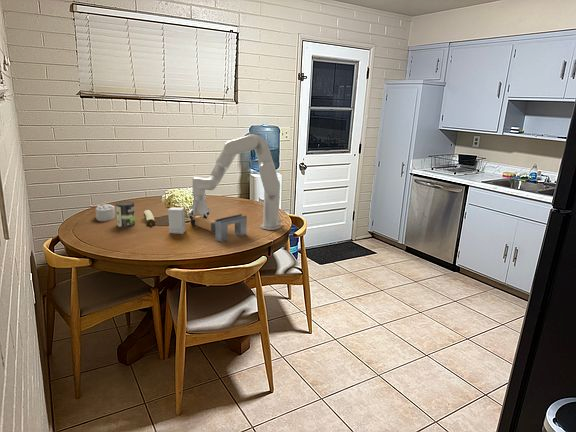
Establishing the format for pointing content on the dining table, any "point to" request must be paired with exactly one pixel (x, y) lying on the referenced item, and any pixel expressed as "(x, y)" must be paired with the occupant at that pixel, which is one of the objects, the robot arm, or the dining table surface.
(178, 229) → the skincare box
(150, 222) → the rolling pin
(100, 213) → the lumpy-topped squat cylinder
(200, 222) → the plug
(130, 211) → the coffee can
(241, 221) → the grey arch-shaped block
